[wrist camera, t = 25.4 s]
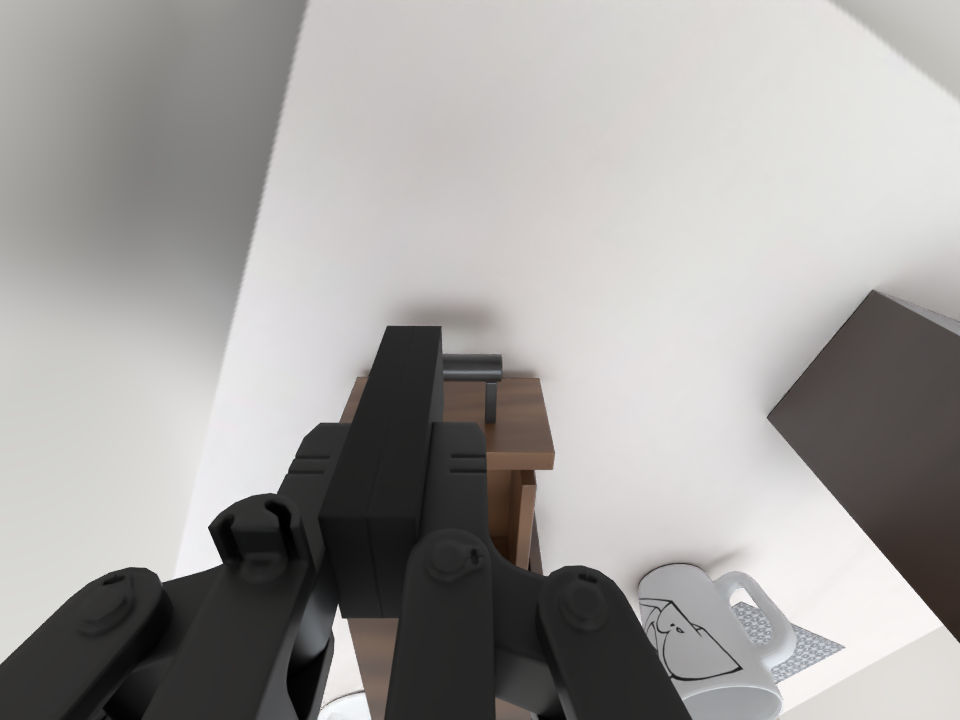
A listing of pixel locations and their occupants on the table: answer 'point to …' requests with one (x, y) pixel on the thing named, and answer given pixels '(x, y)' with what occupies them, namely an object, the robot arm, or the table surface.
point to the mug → (714, 643)
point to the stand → (890, 438)
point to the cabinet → (378, 649)
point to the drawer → (497, 440)
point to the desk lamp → (347, 709)
